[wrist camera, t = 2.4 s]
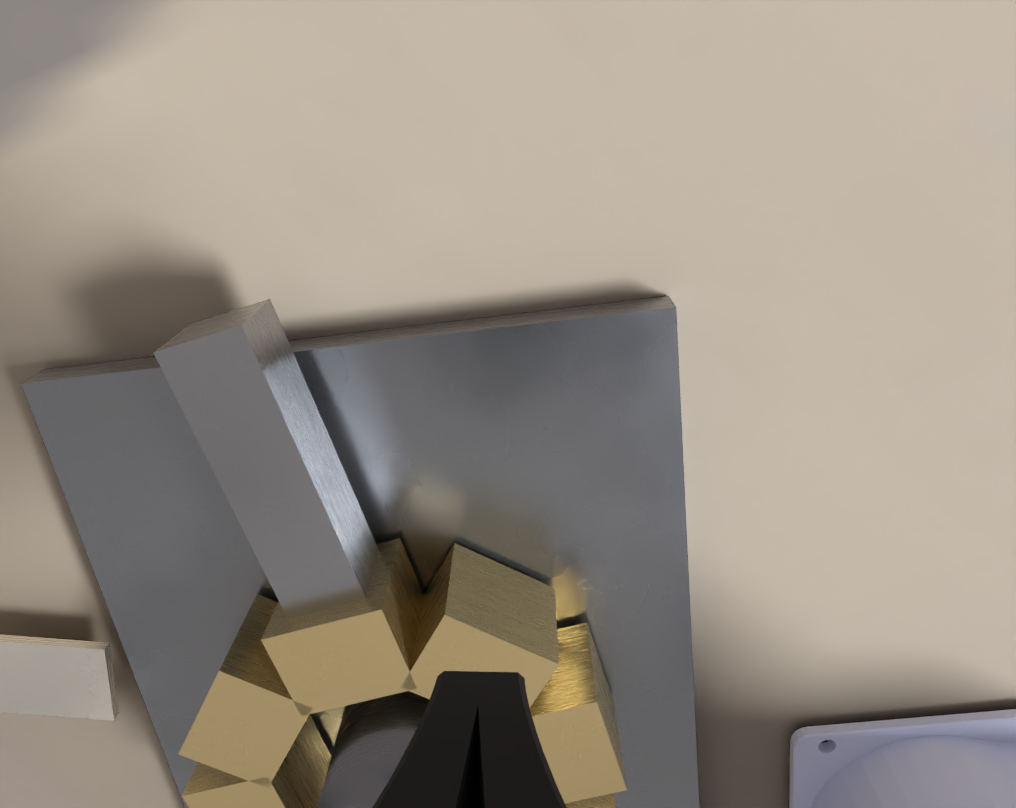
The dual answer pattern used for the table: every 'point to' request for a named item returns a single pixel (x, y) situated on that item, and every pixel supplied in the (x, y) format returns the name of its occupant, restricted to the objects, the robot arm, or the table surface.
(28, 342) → the table surface
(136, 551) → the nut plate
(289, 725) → the ring nut
